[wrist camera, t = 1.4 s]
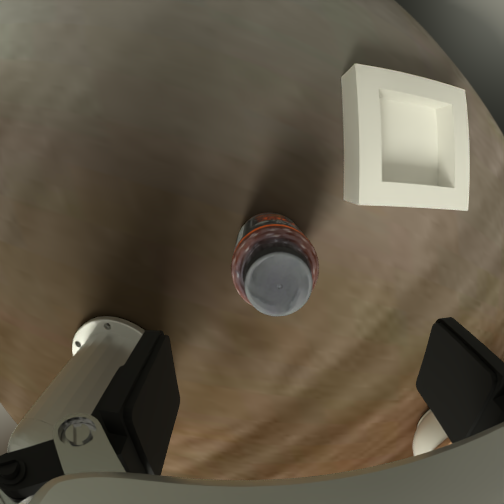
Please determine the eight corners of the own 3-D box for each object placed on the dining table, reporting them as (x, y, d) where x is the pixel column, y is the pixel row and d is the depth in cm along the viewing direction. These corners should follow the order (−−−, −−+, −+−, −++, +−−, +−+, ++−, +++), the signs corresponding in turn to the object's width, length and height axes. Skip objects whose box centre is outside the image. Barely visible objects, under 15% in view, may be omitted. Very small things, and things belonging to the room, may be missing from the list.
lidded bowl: (470, 412, 36) (499, 451, 25) (410, 453, 37) (432, 498, 27) (463, 372, 33) (502, 416, 23) (392, 421, 35) (420, 476, 24)
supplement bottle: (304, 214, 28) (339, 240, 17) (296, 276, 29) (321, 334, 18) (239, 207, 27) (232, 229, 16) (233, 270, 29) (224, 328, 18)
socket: (444, 205, 27) (467, 210, 23) (343, 200, 27) (358, 204, 23) (442, 96, 24) (464, 89, 20) (340, 77, 24) (354, 63, 20)
